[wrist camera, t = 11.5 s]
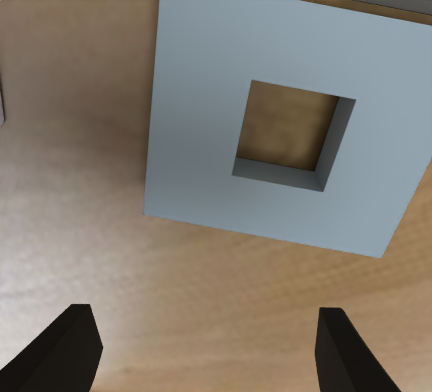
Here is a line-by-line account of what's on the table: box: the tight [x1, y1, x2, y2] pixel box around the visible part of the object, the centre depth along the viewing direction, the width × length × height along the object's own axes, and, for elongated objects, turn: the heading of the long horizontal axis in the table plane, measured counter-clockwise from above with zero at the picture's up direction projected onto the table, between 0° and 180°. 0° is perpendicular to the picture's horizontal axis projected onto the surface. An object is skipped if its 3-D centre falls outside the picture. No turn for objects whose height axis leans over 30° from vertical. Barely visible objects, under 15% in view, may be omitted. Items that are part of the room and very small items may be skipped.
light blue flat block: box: [143, 0, 432, 258], centre depth 17 cm, size 13×11×2 cm
